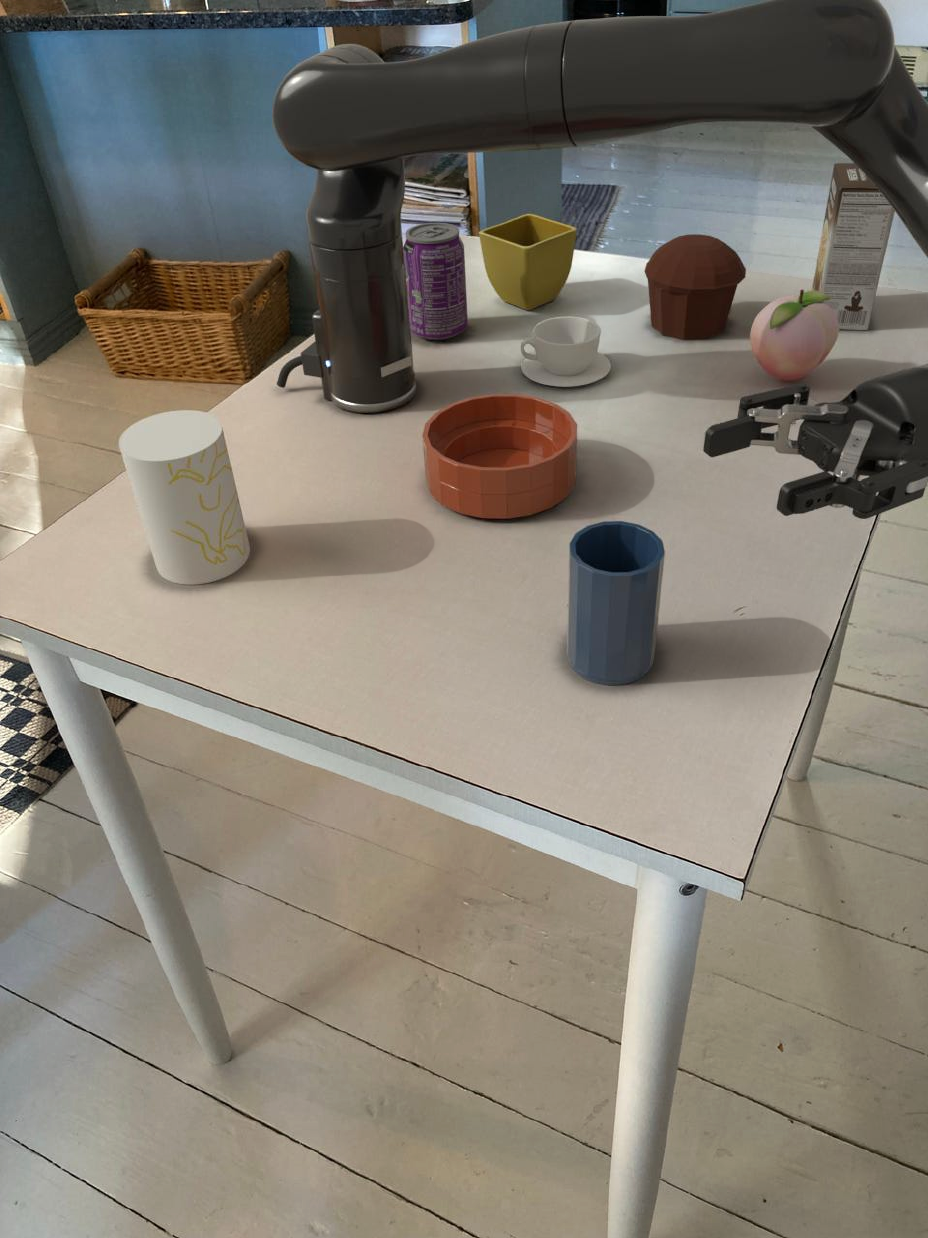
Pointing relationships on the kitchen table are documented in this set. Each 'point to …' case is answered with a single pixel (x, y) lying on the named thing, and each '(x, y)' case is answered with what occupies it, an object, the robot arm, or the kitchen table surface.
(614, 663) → the tumbler
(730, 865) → the kitchen table surface
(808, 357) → the decorative fruit
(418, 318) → the beverage can
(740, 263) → the muffin
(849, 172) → the coffee box
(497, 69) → the robot arm
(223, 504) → the cup
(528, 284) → the flower pot
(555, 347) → the teacup
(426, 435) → the bowl
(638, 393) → the kitchen table surface
